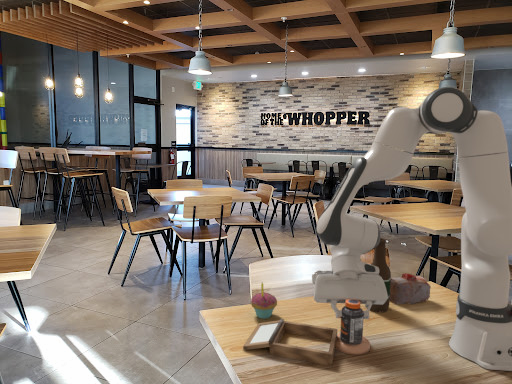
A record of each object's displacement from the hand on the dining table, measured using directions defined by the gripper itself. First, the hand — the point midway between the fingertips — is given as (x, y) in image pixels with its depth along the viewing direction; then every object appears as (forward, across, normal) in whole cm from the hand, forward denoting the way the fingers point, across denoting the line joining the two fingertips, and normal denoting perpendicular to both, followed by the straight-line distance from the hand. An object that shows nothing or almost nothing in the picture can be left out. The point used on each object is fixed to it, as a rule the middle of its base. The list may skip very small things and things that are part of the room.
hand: (352, 318), depth 103 cm
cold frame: (+6, -13, +5) cm, 15 cm away
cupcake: (-6, -24, +18) cm, 31 cm away
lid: (+4, -24, +7) cm, 25 cm away
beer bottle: (-12, +14, +24) cm, 31 cm away
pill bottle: (+4, 0, +5) cm, 7 cm away
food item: (-17, +27, +29) cm, 43 cm away
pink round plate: (+5, 0, +6) cm, 8 cm away
